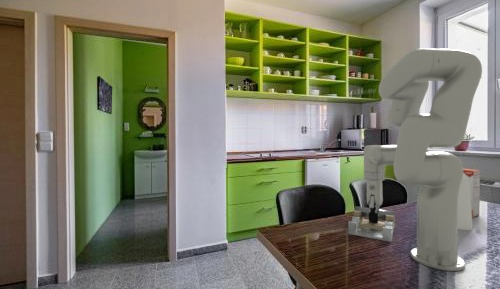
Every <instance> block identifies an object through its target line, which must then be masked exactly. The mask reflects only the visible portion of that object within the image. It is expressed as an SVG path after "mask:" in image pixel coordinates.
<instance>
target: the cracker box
mask: <svg viewBox="0 0 500 289" xmlns="http://www.w3.org/2000/svg"><path fill="white" fill-rule="evenodd" d="M463 173H464V174H465V175H466V177H467V178H468V180H469V183H470V197H471V212H472V218H474V217H477V216H480V207H481V206H480V200H481V199H480V198H481V194H480V192H481V190H480V189H481V188H480V186H481V170H480V169H472V168H463Z"/></svg>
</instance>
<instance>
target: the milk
mask: <svg viewBox="0 0 500 289" xmlns="http://www.w3.org/2000/svg"><path fill="white" fill-rule="evenodd" d="M473 229H474V228H473V217H472V212H471V197H470V183H469V180H468V178H467V177H466V175H465V174H464V173H463V177H462V181H461V184H460V189H459V199H458V230H463V231H464V230H465V231H473Z"/></svg>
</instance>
